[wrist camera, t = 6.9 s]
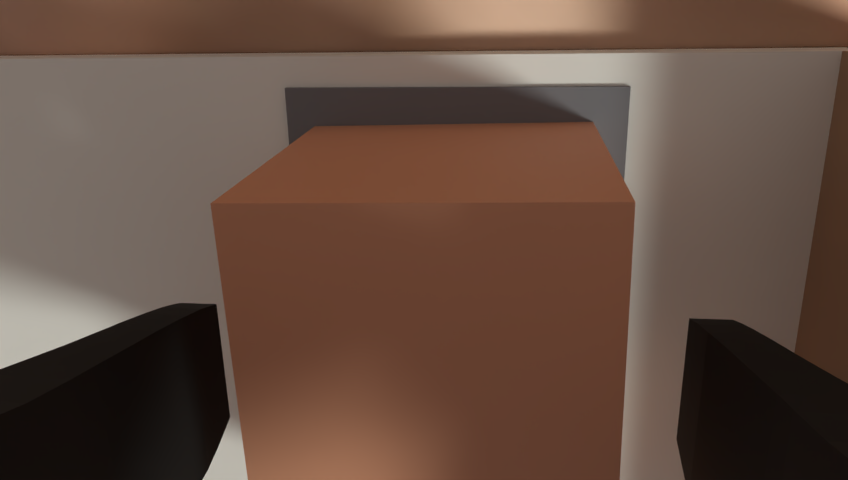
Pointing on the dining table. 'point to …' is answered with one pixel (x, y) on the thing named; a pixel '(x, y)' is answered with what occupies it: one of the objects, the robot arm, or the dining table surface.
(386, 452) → the bar
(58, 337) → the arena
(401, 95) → the pad
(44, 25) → the dining table surface
